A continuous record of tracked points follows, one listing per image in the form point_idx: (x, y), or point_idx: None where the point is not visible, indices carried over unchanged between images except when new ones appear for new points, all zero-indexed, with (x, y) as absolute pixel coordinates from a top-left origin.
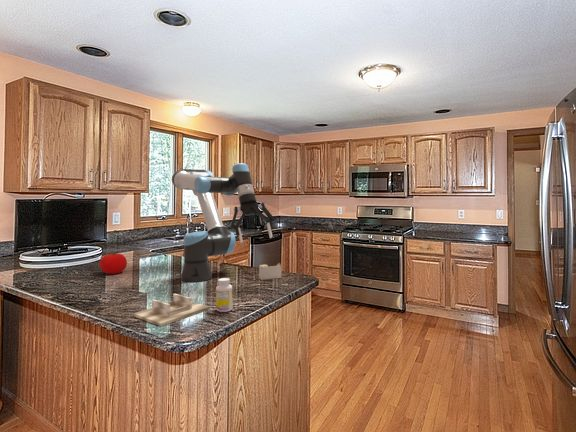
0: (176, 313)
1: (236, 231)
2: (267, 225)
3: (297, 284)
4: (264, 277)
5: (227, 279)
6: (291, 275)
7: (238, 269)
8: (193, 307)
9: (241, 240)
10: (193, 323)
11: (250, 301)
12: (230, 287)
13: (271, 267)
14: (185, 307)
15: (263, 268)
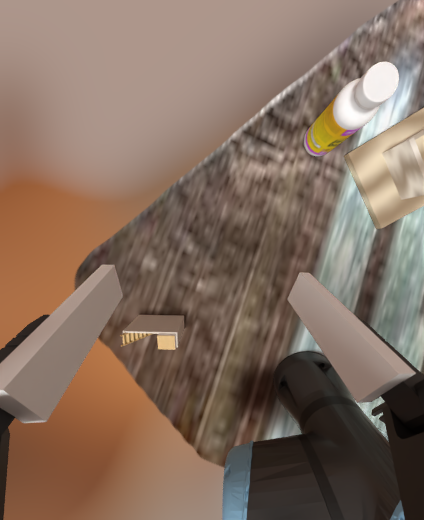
0: (418, 131)
1: (389, 346)
2: (50, 380)
3: (125, 250)
4: (175, 317)
5: (372, 75)
6: (111, 324)
7: (202, 416)
8: (376, 160)
9: (312, 277)
10: None
11: (255, 173)
12: (348, 84)
13: (150, 329)
14: (404, 141)
15: (172, 330)
